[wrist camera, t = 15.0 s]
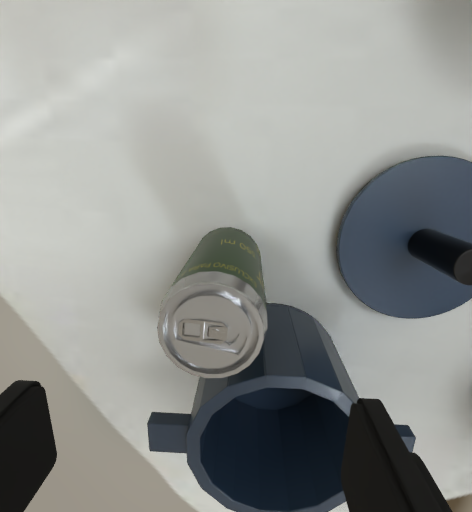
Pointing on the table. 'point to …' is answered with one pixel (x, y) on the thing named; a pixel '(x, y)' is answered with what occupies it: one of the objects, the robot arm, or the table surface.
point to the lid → (411, 238)
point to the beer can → (216, 307)
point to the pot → (271, 423)
